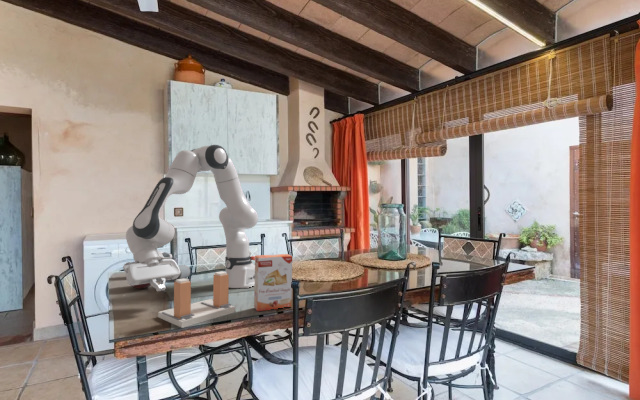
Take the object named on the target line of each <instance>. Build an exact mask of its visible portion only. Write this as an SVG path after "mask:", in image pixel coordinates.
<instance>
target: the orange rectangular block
mask: <svg viewBox="0 0 640 400" xmlns="http://www.w3.org/2000/svg"><path fill="white" fill-rule="evenodd" d="M191 304H192V283H191V281H190V279H189V278H183V279H178V280H176V281H174V282H173V308H174V316H175V317H177V318H179V319H181V316H184V315H188V314H191Z"/></svg>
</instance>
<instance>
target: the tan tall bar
mask: <svg viewBox="0 0 640 400" xmlns="http://www.w3.org/2000/svg"><path fill="white" fill-rule="evenodd" d="M212 283H213V289H212V290H213V297H212V299H213V306H216V307H219V308H220V306H221V305H225V304H228V303H229V293H230V292H229V275H228V274H227V272H225V271H222V270H221V271H216V272H215V273H214V274H213V282H212Z"/></svg>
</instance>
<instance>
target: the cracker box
mask: <svg viewBox="0 0 640 400" xmlns="http://www.w3.org/2000/svg"><path fill="white" fill-rule="evenodd" d="M254 256H255V260H254V265H255V286H254V287H253V288H254V291H253V292H254V299H253V308H254V309H255V310H256V312H263V311H272V310H271V309H274V310H279V309H278V308H283V307H290V306H291V307H292V291H293V290H292V288H293V287H292V288H291V282H292V281H293V256H292V255H290V254H289V253H283V254H261V255H257V254H256V255H254ZM292 283H293V282H292ZM283 309H284V308H283Z"/></svg>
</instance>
